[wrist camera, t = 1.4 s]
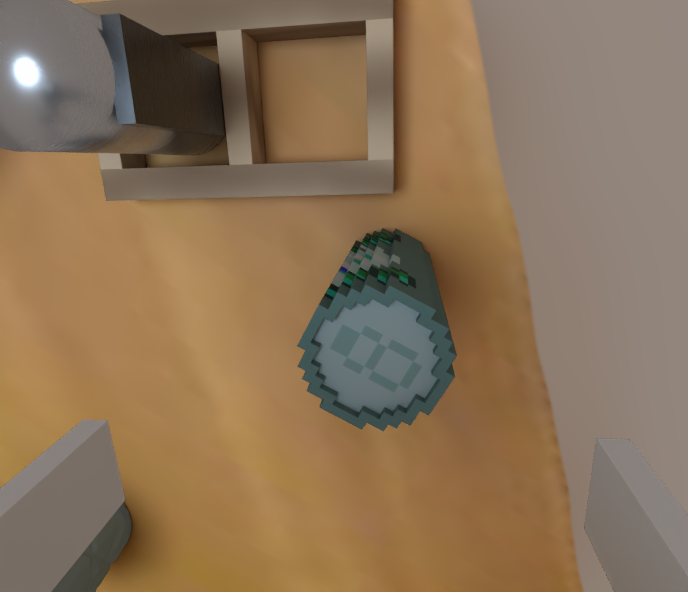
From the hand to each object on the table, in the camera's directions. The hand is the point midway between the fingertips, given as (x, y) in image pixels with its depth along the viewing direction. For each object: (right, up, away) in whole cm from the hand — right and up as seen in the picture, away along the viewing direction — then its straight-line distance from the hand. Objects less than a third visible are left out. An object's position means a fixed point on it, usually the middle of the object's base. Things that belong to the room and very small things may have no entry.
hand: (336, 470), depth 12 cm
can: (+3, +6, +20) cm, 22 cm away
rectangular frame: (-6, +17, +18) cm, 26 cm away
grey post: (-10, +17, +19) cm, 28 cm away
